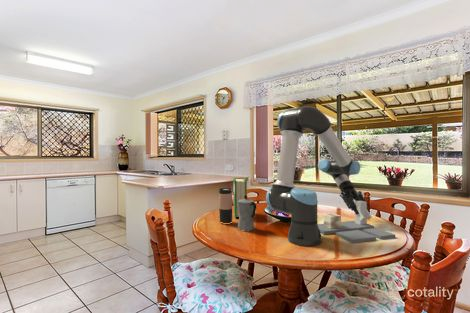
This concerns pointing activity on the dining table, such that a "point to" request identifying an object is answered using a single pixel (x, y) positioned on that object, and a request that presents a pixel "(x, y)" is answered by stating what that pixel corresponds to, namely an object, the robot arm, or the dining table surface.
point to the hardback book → (239, 192)
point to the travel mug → (225, 205)
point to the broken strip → (364, 235)
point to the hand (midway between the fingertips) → (366, 218)
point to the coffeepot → (246, 214)
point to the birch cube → (332, 220)
